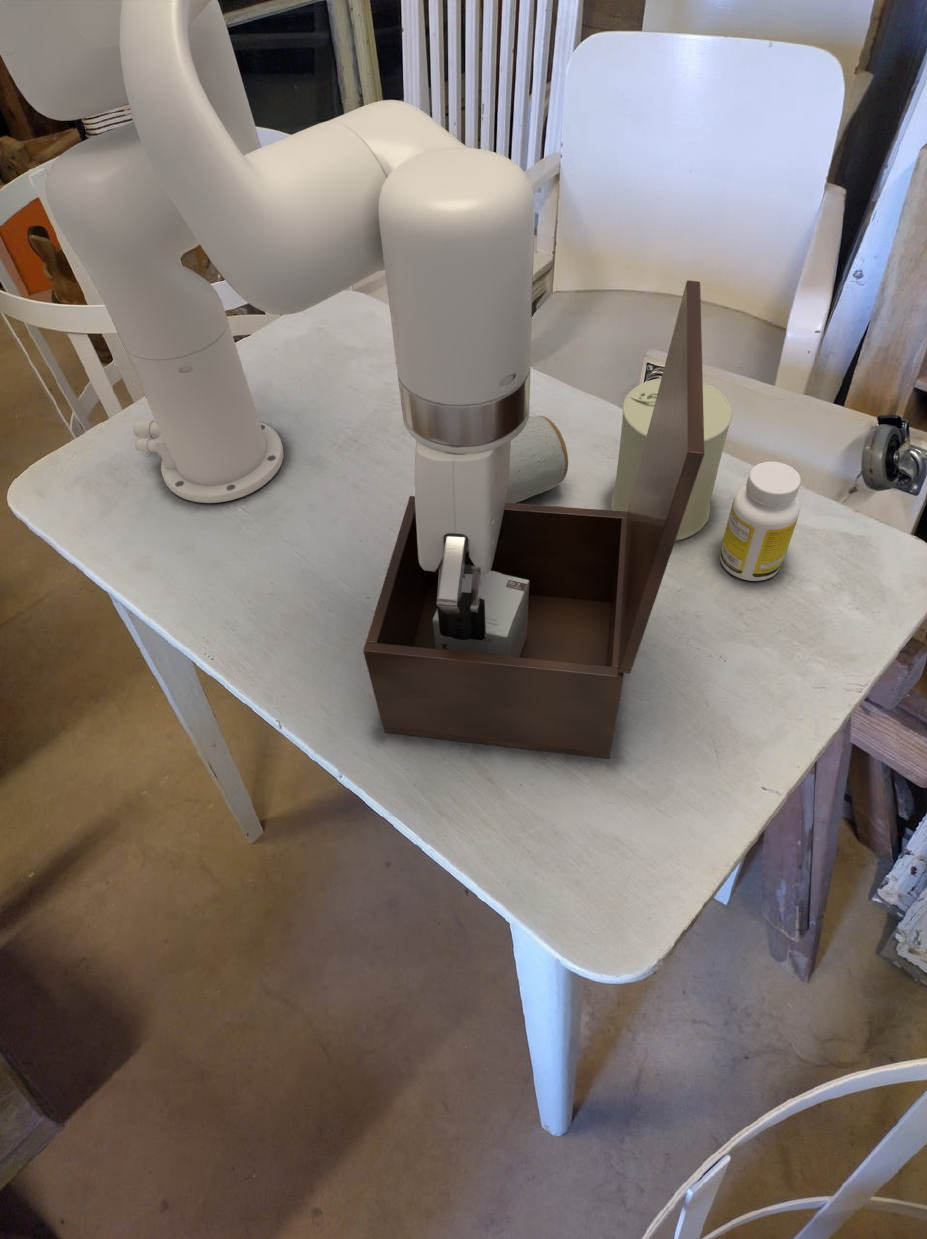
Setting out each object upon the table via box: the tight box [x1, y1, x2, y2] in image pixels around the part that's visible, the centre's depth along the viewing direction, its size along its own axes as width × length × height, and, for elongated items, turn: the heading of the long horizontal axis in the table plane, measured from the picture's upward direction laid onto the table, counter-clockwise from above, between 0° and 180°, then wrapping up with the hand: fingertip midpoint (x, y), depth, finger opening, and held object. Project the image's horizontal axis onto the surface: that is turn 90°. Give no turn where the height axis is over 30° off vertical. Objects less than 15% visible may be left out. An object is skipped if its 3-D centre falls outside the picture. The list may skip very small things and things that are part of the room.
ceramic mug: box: [505, 415, 569, 504], centre depth 79 cm, size 11×8×8 cm
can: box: [610, 377, 733, 542], centre depth 73 cm, size 9×9×12 cm
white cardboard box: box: [433, 571, 529, 657], centre depth 64 cm, size 6×6×7 cm
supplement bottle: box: [719, 461, 802, 582], centre depth 69 cm, size 5×5×10 cm
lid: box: [618, 280, 704, 675], centre depth 50 cm, size 18×16×1 cm
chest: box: [362, 495, 628, 759], centre depth 63 cm, size 18×16×11 cm
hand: (473, 583), depth 61 cm, fingers open, 9 cm apart
